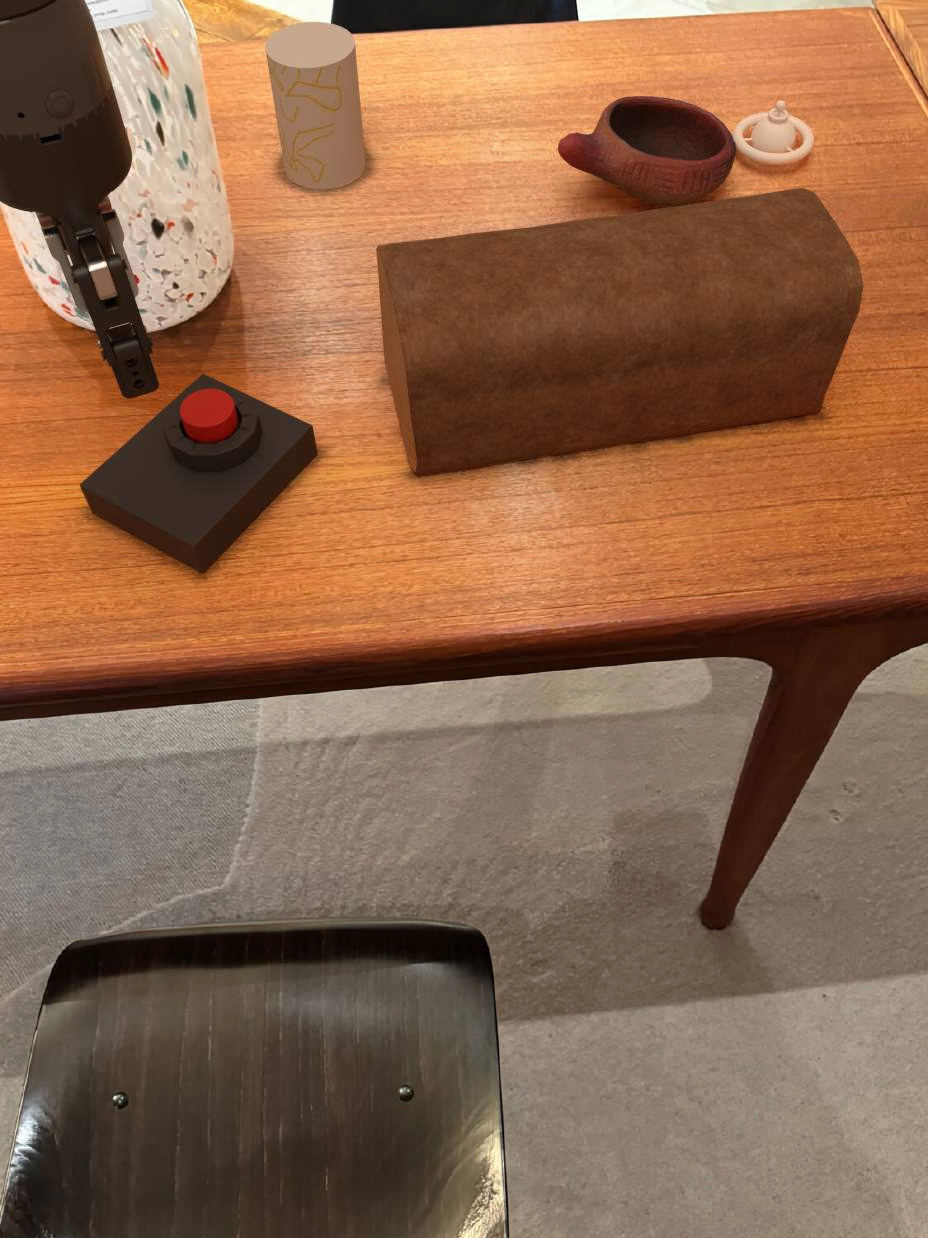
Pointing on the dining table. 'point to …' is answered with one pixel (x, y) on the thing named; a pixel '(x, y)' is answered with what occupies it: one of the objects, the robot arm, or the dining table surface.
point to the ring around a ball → (773, 137)
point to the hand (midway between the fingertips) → (123, 346)
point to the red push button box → (200, 477)
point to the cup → (317, 104)
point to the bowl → (655, 150)
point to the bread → (614, 328)
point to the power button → (209, 415)
